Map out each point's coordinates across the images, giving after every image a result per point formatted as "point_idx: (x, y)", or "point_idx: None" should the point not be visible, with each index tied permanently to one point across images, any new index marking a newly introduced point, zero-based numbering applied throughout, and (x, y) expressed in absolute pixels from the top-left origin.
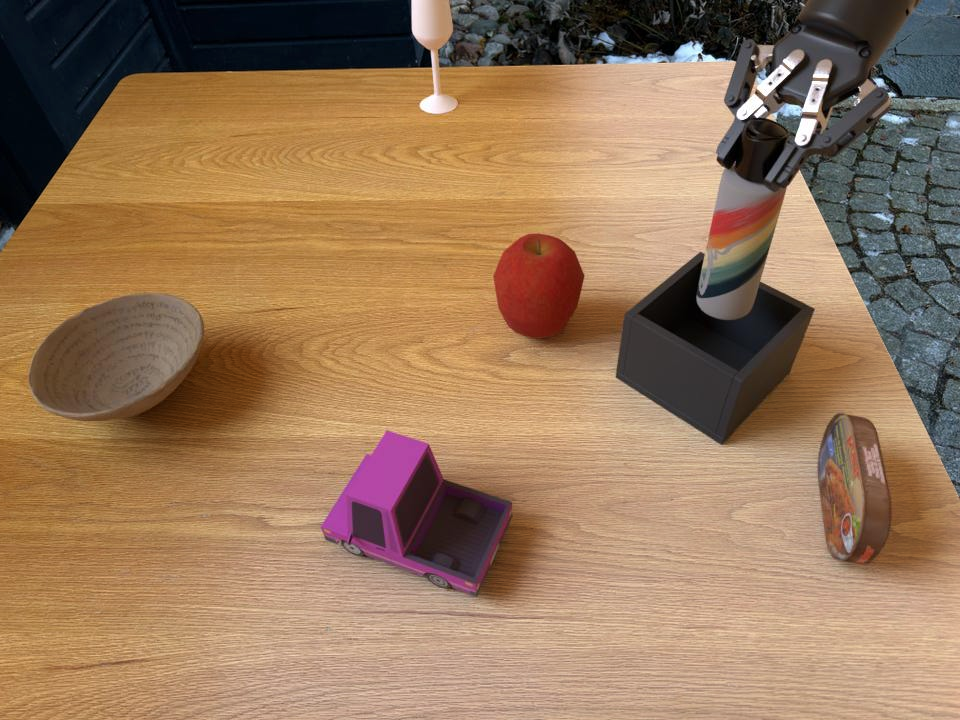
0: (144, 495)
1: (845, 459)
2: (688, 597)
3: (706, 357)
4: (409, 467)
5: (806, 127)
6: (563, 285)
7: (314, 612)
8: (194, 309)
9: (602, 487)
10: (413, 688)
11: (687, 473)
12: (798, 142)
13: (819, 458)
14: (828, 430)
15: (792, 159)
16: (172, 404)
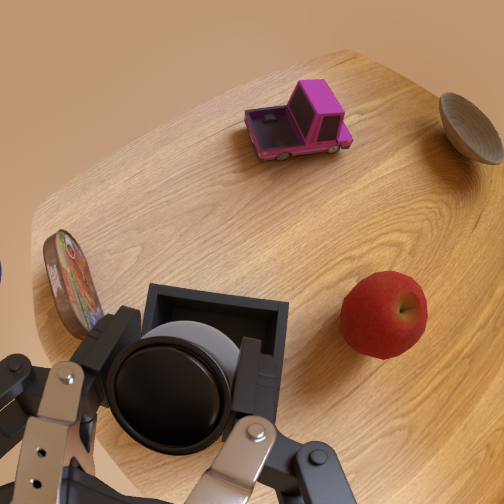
0: (404, 106)
1: (76, 293)
2: (146, 184)
3: (190, 293)
4: (313, 99)
5: (59, 398)
6: (360, 302)
7: None
8: (484, 158)
9: (225, 217)
10: (242, 91)
11: (179, 261)
12: (74, 366)
13: None
14: None
15: (89, 349)
16: (445, 145)
